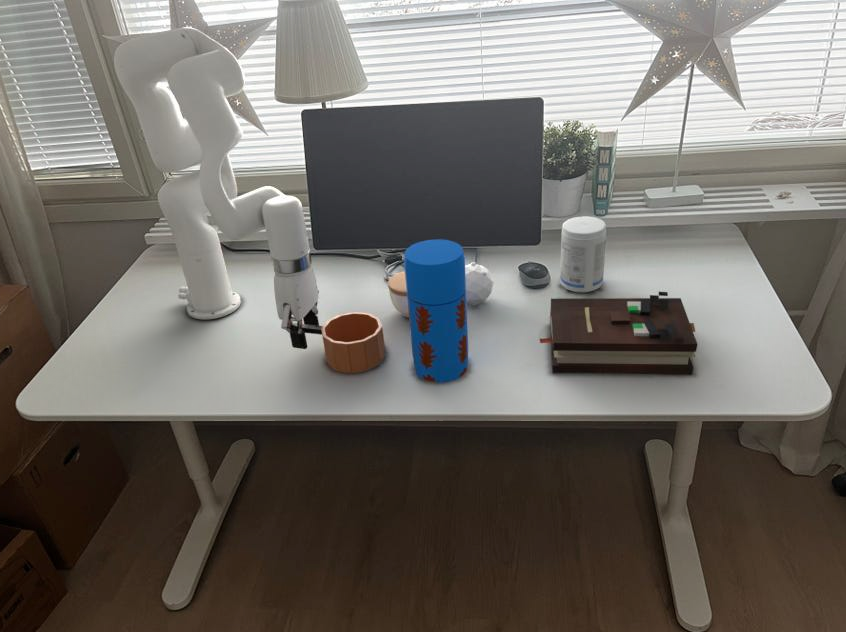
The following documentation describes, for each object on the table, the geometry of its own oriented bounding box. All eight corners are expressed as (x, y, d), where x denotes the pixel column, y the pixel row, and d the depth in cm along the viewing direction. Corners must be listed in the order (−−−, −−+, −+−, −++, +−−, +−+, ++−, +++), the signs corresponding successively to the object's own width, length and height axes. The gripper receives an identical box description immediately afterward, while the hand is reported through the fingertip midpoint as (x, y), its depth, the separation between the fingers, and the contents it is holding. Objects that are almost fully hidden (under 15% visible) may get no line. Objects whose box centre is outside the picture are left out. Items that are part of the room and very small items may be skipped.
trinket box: (434, 324, 154) (432, 285, 149) (386, 322, 156) (382, 285, 151) (442, 300, 163) (439, 262, 157) (396, 298, 165) (392, 262, 160)
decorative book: (539, 292, 146) (692, 291, 141) (538, 323, 151) (687, 323, 146) (540, 342, 131) (713, 343, 126) (539, 376, 135) (707, 378, 130)
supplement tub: (591, 271, 168) (595, 212, 160) (610, 289, 160) (615, 228, 152) (552, 278, 167) (555, 220, 158) (569, 297, 159) (572, 236, 151)
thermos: (452, 389, 134) (445, 270, 120) (403, 375, 139) (392, 259, 125) (478, 359, 141) (474, 244, 128) (431, 347, 147) (423, 235, 133)
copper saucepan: (282, 364, 146) (276, 335, 142) (307, 334, 155) (302, 306, 151) (372, 376, 140) (368, 346, 136) (392, 344, 149) (389, 315, 145)
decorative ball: (504, 302, 164) (507, 267, 154) (470, 327, 161) (471, 293, 151) (477, 280, 168) (479, 245, 158) (444, 304, 165) (443, 270, 155)
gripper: (294, 241, 146) (307, 317, 156) (253, 279, 132) (271, 360, 142) (327, 243, 143) (339, 320, 153) (289, 283, 130) (305, 364, 140)
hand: (306, 338), depth 148 cm, fingers open, 5 cm apart
